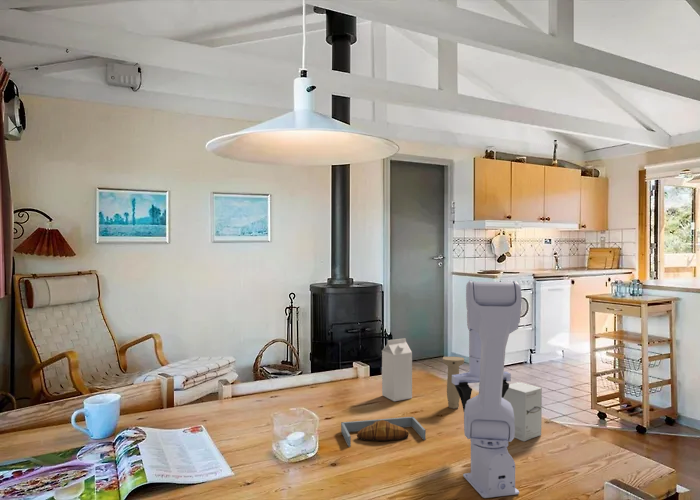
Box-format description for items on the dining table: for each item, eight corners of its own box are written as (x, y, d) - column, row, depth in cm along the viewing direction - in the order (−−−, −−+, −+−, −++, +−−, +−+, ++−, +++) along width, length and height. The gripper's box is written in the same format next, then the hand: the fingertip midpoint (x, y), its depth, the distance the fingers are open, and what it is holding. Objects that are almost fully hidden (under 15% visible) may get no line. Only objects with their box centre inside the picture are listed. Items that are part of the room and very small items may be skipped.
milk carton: (382, 395, 158) (381, 338, 158) (399, 392, 161) (399, 336, 161) (393, 402, 152) (393, 342, 152) (412, 398, 155) (412, 340, 155)
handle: (464, 410, 144) (464, 360, 144) (443, 409, 145) (442, 360, 145) (463, 405, 149) (463, 357, 148) (442, 404, 150) (442, 356, 149)
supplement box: (524, 442, 121) (524, 392, 121) (500, 432, 127) (500, 385, 127) (542, 435, 125) (542, 387, 125) (518, 426, 131) (518, 380, 131)
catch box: (425, 439, 123) (425, 429, 123) (348, 446, 119) (348, 436, 119) (413, 425, 132) (413, 416, 132) (341, 431, 128) (341, 422, 128)
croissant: (406, 433, 128) (406, 414, 128) (411, 443, 121) (411, 423, 121) (355, 434, 127) (355, 416, 127) (358, 445, 120) (357, 425, 120)
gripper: (500, 350, 121) (500, 404, 121) (446, 353, 118) (446, 408, 118) (515, 357, 114) (515, 414, 114) (458, 360, 111) (458, 418, 112)
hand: (481, 412), depth 116 cm, fingers open, 7 cm apart
